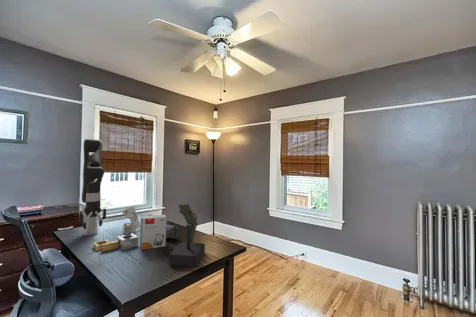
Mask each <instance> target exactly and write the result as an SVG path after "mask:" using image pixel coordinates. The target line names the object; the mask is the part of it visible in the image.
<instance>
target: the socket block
mask: <svg viewBox="0 0 476 317" xmlns="http://www.w3.org/2000/svg"><path fill="white" fill-rule="evenodd" d="M116 241H118V248H119V249H120V250H121V251H123V250H128V249H132V248H136V247H139V236H137V235H136V234H135V233H131V238H126V239H125V234H123V235H119V236H116Z"/></svg>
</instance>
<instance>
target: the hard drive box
mask: <svg viewBox="0 0 476 317" xmlns="http://www.w3.org/2000/svg"><path fill="white" fill-rule="evenodd" d="M166 225H167V215H166V214H156V215H155V214H153V215H142V216H140V226H141V229H140V230H139V231H140V234H139V237H140V238H139V240H140V241H139V248H140V250H141V251H142V250H149V249H156V248H163V247H164V248H165V247H166V244H167V243H166V240H167V239H166Z"/></svg>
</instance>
